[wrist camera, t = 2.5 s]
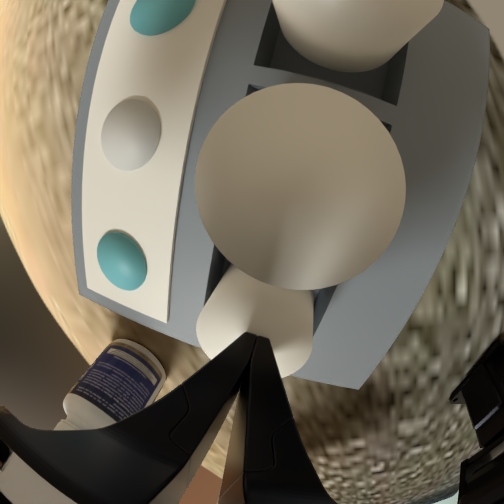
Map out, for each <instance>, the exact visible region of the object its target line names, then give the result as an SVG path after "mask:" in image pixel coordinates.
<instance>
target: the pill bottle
mask: <svg viewBox="0 0 504 504" xmlns="http://www.w3.org/2000/svg"><path fill="white" fill-rule="evenodd" d="M165 380H166V374H165V371H164V369H163V367H162V365H161V363H160V362H159V360H158V359H157V358H156V357H155V356H154V355H153V354H152V353H151V352H150V351H149V350H147V349H146V348H145V347H143V346H141V345H140V344H138V343H136V342H133V341H130V340H127V339H116V340H114V341H112V342H111V343H110V344H109V345H108V346H107V347H106V348H105V350H104V351H103V352H102V353H101V354H100V355H99V357H98V358H97V359H96V360H95V361H94V363H93V364H92V365H91V366H90V367H89V368H88V369H87V371H86V372H85V373H84V374H83V376H82V377H81V378H80V379H79V380H78V382H77V383H76V384H75V386H74V387H73V388H72V389H71V390H70V392H69V393H68V394H67V396H66V397H65V399H64V402H63V407H64V410H65V412H66V414H67V418H66V420H63V419H62V420H61V422H59V423H58V424H57V426H56V427H55V429H54V430H86V429H97V428H102V427H106V426H109V425H111V424H113V423H116V422H118V421H120V420H122V419H124V418H126V417H128V416H130V415H132V414H134V413H136V412H138V411H140V410H141V409H143V408H145V407H147V406H149V405H151V404H152V403H153V402H154V401H155V399H156V397H157V396H158V394H159V392H160V390H161V389H162V387H163V385H164V383H165Z"/></svg>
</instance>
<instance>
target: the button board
mask: <svg viewBox="0 0 504 504" xmlns="http://www.w3.org/2000/svg"><path fill="white" fill-rule="evenodd" d="M489 68H490V34H489V29H488V28H487V27H486V26H484V25H483V24H482V23H480V22H479V21H477V20H476V19H474V18H473V17H472V16H470V15H468V14H467V13H465V12H464V11H462V10H461V9H459V8H457V7H456V6H454V5H452V4H451V3H449V2H447V1H446V0H444V3H443V6H442V9H441V10H440V12H439V13H438V15H437V16H435V17H434V18H433V19H432V20H431V21H430V22H429V23H428V24H427V25H426V26H425V27H423V28H422V29H421V30H420V31H419V32H418V33H417V34H416V35H415V36H414V37H413V38H412V39H411V40H409V41H408V42H407V43H406V44H405V45H404V46H403V47H402V48H401V49H400V50H399V51H398V52H397V53H396V54H395V55H394V56H393V57H392V58H391V59H390V60H388V61H387V62H386V63H385V64H383V65H382V66H380V67H378V68H375V69H372V70H369V71H364V72H355V73H354V72H341V71H335V70H331V69H328V68H325V67H322V66H319V65H317V64H315V63H313V62H311V61H309V60H308V59H306V58H305V57H303V56H302V55H300V54H299V53H298V52H297V51H296V50H295V49H294V48H293V47H292V46H291V45H290V44H289V43H288V41H287V40H286V38H285V37H284V35H283V33H282V30H281V27H280V24H279V21H278V18H277V14H276V11H275V8H274V5H273V2H272V0H109V1H108V3H107V6H106V8H105V11H104V13H103V16H102V19H101V22H100V24H99V27H98V30H97V33H96V36H95V40H94V43H93V46H92V50H91V53H90V57H89V61H88V65H87V69H86V73H85V77H84V82H83V87H82V92H81V97H80V102H79V108H78V115H77V122H76V130H75V139H74V150H73V164H72V231H73V245H74V256H75V266H76V274H77V281H78V288H79V294H80V295H82V296H84V297H86V298H87V299H89V300H91V301H93V302H95V303H97V304H99V305H101V306H103V307H105V308H107V309H109V310H111V311H113V312H115V313H118V314H120V315H122V316H124V317H126V318H128V319H130V320H133V321H135V322H137V323H139V324H142V325H144V326H146V327H149V328H151V329H153V330H156V331H158V332H160V333H163V334H165V335H168V336H170V337H173V338H175V339H178V340H181V341H183V342H186V343H188V344H191V345H194V346H197V347H199V348H202V347H201V346H200V343H199V341H198V338H197V333H196V324H197V319H198V317H199V314H200V312H201V311H202V309H203V308H204V306H205V304H206V303H207V301H208V299H209V298H210V296H211V295H212V293H213V291H214V290H215V288H216V287H217V285H218V283H219V282H220V280H221V279H222V277H223V275H224V274H225V272H226V271H227V269H228V267H229V266H230V264H231V262H230V261H228V260H227V258H226V257H225V256H224V255H223V254H222V253H221V252H220V251H219V250H218V248H217V247H216V246H215V244H214V243H213V242H212V240H211V238H210V237H209V235H208V233H207V231H206V230H205V227H204V225H203V223H202V220H201V218H200V214H199V211H198V207H197V202H196V196H195V172H196V165H197V161H198V157H199V153H200V150H201V148H202V145H203V143H204V140H205V139H206V137H207V135H208V133H209V132H210V130H211V128H212V127H213V126H214V124H215V123H216V122H217V120H218V119H219V118H220V117H221V116H222V115H223V114H224V113H225V112H226V111H227V110H228V109H229V108H230V107H231V106H233V105H234V104H235V103H237V102H238V101H239V100H241V99H242V98H244V97H246V96H248V95H250V94H252V93H254V92H256V91H258V90H261V89H264V88H267V87H270V86H275V85H280V84H288V83H307V84H316V85H320V86H325V87H329V88H332V89H334V90H337V91H340V92H342V93H344V94H346V95H348V96H350V97H352V98H354V99H355V100H357V101H358V102H360V103H361V104H362V105H364V106H365V107H366V108H368V109H369V110H370V111H371V112H372V113H373V114H374V115H375V116H376V117H377V118H378V119H379V120H380V121H381V123H382V124H383V125H384V126H385V128H386V129H387V130H388V132H389V134H390V135H391V137H392V139H393V141H394V142H395V144H396V147H397V149H398V151H399V154H400V156H401V160H402V164H403V168H404V173H405V182H406V198H405V205H404V211H403V215H402V218H401V221H400V225H399V227H398V229H397V231H396V234H395V236H394V238H393V239H392V241H391V243H390V244H389V246H388V247H387V249H386V250H385V251H384V252H383V254H382V255H381V256H380V257H379V258H378V259H377V260H376V261H375V262H374V263H373V264H372V265H371V266H370V267H368V268H367V269H366V270H364V271H363V272H361V273H360V274H358V275H357V276H355V277H353V278H351V279H349V280H347V281H345V282H342V283H340V284H337V285H334V286H330V287H326V288H321V289H314V310H313V343H312V351H311V354H310V356H309V359H308V360H307V362H306V363H305V364H304V365H303V366H302V367H301V368H300V369H299V370H298V371H296V372H294V373H293V374H291V376H295V377H299V378H303V379H308V380H312V381H317V382H321V383H326V384H331V385H336V386H341V387H346V388H352V389H358V390H359V389H360V387H361V386H362V385H363V384H364V382H365V381H366V380H367V378H368V377H369V376H370V374H371V373H372V372H373V371H374V369H375V368H376V366H377V365H378V364H379V362H380V361H381V360H382V358H383V357H384V355H385V354H386V353H387V351H388V350H389V348H390V347H391V345H392V344H393V342H394V341H395V339H396V338H397V336H398V335H399V333H400V331H401V330H402V328H403V327H404V325H405V324H406V322H407V320H408V319H409V317H410V315H411V314H412V312H413V310H414V308H415V307H416V305H417V303H418V301H419V300H420V298H421V296H422V294H423V292H424V291H425V289H426V287H427V285H428V283H429V281H430V279H431V277H432V275H433V273H434V271H435V269H436V267H437V265H438V263H439V261H440V259H441V256H442V254H443V252H444V250H445V247H446V245H447V243H448V240H449V238H450V236H451V233H452V231H453V228H454V226H455V223H456V221H457V218H458V215H459V213H460V210H461V207H462V204H463V201H464V198H465V195H466V192H467V189H468V186H469V182H470V179H471V176H472V172H473V168H474V165H475V161H476V157H477V153H478V148H479V144H480V139H481V134H482V129H483V123H484V117H485V110H486V103H487V94H488V84H489Z"/></svg>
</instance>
